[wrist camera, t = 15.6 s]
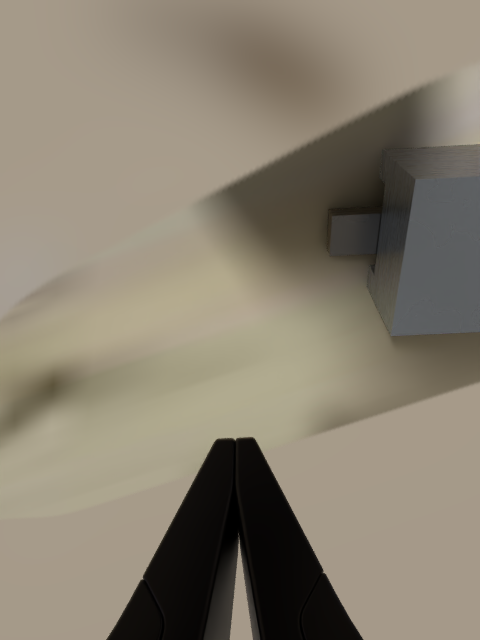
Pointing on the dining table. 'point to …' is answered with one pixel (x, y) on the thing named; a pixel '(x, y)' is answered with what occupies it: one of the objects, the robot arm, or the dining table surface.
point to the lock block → (429, 241)
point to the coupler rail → (353, 231)
